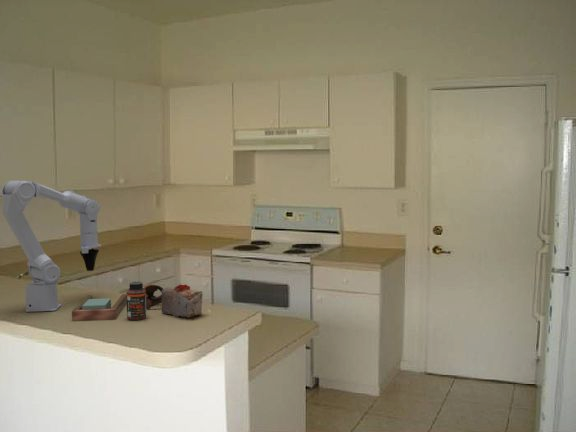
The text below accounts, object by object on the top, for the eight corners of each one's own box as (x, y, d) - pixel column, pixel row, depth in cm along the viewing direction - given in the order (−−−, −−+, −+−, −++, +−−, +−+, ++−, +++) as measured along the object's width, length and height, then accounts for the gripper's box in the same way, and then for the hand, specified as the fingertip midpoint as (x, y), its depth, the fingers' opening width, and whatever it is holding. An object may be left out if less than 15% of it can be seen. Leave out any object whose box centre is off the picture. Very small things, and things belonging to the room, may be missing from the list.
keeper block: (82, 320, 181) (82, 305, 180) (89, 312, 190) (88, 299, 189) (105, 319, 182) (105, 305, 181) (111, 311, 190) (110, 298, 190)
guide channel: (72, 320, 179) (71, 311, 179) (88, 303, 200) (88, 295, 200) (115, 319, 180) (114, 309, 180) (126, 302, 202) (126, 294, 201)
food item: (206, 315, 185) (206, 284, 184) (189, 320, 178) (189, 289, 177) (175, 309, 192) (174, 280, 191) (157, 314, 186) (156, 284, 185)
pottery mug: (166, 303, 203) (169, 285, 199) (159, 321, 195) (163, 303, 191) (132, 295, 202) (135, 277, 198) (124, 313, 194) (127, 294, 190)
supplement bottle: (129, 321, 178) (128, 285, 176) (125, 317, 183) (123, 281, 182) (148, 319, 180) (147, 283, 179) (144, 314, 186) (143, 280, 185)
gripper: (95, 234, 198) (97, 274, 199) (104, 229, 212) (106, 266, 214) (74, 235, 197) (76, 274, 199) (84, 230, 212) (86, 266, 213)
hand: (90, 270), depth 206 cm, fingers closed
